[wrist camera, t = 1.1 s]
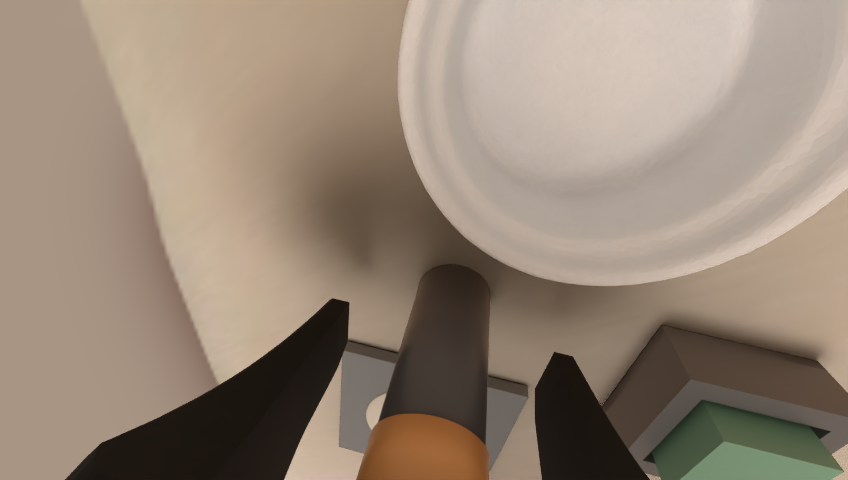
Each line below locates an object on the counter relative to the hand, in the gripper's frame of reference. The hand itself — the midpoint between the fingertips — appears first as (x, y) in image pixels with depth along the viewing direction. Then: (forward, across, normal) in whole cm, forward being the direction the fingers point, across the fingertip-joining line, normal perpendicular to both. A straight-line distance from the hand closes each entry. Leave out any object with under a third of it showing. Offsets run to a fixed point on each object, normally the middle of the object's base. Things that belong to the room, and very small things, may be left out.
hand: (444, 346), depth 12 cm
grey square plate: (+3, 0, +9) cm, 10 cm away
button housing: (+3, -11, +2) cm, 12 cm away
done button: (+2, -11, +2) cm, 11 cm away
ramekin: (+3, -2, -9) cm, 10 cm away
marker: (+3, 0, 0) cm, 3 cm away
